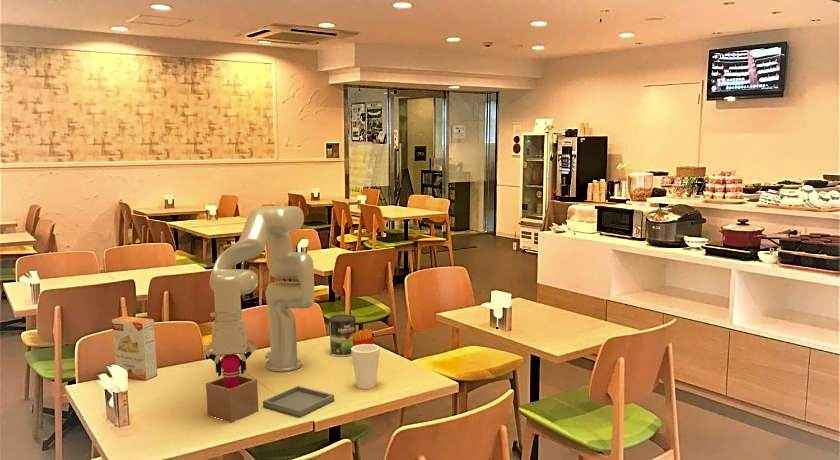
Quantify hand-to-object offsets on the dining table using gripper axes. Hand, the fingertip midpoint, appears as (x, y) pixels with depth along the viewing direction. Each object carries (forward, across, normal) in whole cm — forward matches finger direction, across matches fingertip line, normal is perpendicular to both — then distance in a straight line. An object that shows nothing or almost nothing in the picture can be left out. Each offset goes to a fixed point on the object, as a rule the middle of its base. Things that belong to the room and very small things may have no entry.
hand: (231, 373), depth 205 cm
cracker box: (+13, -36, +43) cm, 57 cm away
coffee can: (+13, +38, +52) cm, 66 cm away
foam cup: (+13, +42, +14) cm, 47 cm away
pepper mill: (+13, 0, 0) cm, 13 cm away
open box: (+13, 0, 0) cm, 13 cm away
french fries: (+13, +45, +40) cm, 61 cm away
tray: (+13, +20, +3) cm, 24 cm away
